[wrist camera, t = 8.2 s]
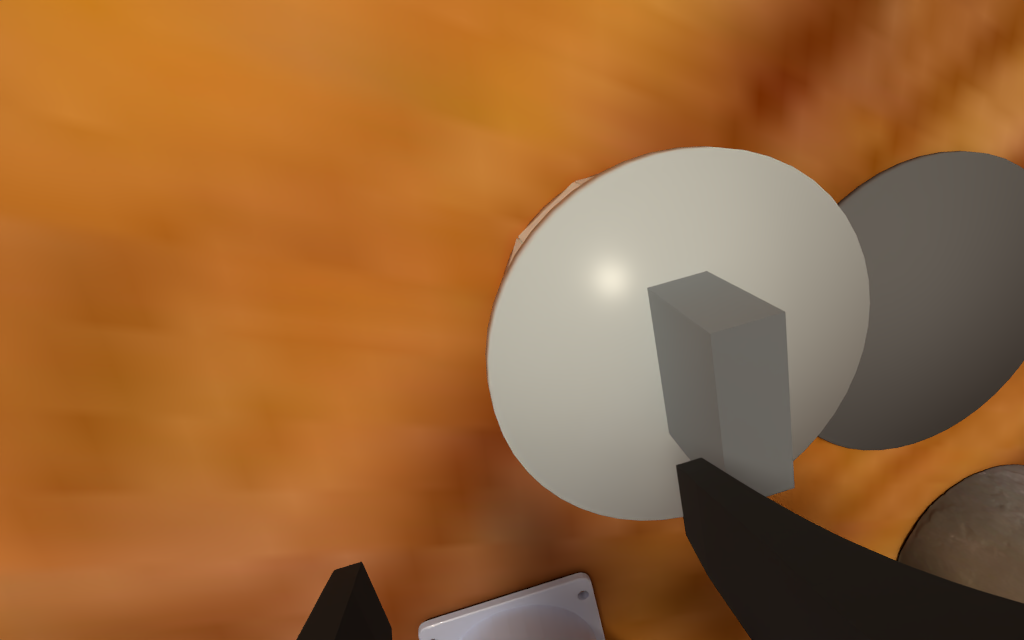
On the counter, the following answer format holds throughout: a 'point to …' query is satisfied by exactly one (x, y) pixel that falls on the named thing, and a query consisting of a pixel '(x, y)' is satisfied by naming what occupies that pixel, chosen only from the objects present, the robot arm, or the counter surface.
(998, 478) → the pillar candle
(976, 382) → the mat
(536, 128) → the counter surface
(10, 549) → the counter surface
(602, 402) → the lid
